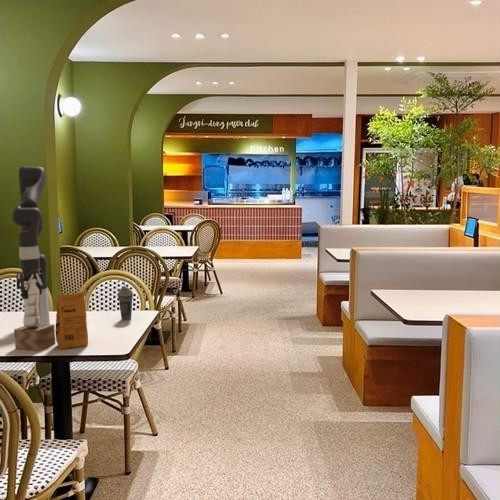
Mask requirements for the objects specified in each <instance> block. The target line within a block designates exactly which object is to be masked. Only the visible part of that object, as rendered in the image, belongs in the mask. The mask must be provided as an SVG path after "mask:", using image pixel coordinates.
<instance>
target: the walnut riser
mask: <svg viewBox="0 0 500 500" xmlns="http://www.w3.org/2000/svg"><path fill="white" fill-rule="evenodd" d="M13 330H14V346H15V347H14V348H15V350H25V351H36V352H38V351H40V350H43V349H46V348H48V347H50V346H52V345H55V344H56V333H55V331H56V328H55V324H50V323H49V324H40V325H39V326H37V327H34V328H29V327H25V326H24V325H23V326H20V327H17V328H15V329H13Z"/></svg>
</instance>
